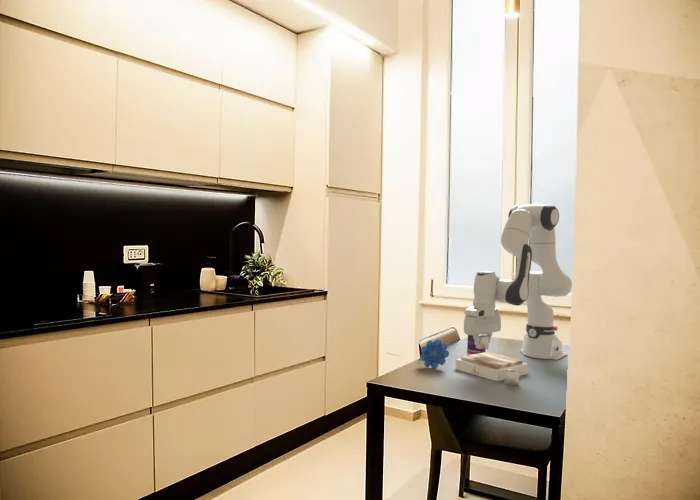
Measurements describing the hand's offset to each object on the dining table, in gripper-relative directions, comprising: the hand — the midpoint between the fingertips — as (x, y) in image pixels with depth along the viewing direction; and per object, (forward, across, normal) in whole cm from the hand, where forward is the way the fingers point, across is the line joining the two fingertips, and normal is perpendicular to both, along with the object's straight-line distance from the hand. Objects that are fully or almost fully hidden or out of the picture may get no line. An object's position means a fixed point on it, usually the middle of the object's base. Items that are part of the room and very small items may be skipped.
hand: (482, 344), depth 210 cm
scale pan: (+6, 0, +5) cm, 8 cm away
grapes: (+10, +16, -11) cm, 22 cm away
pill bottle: (+10, -16, -15) cm, 24 cm away
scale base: (+10, 0, +5) cm, 11 cm away
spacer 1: (+2, 0, 0) cm, 2 cm away
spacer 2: (+10, +8, +20) cm, 24 cm away
